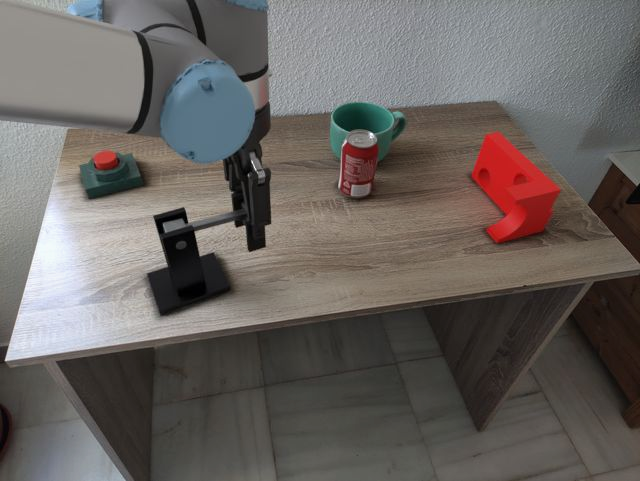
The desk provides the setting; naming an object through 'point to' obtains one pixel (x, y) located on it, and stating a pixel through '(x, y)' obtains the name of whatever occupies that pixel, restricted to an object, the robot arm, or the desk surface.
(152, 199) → the desk surface
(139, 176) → the button box
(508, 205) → the bracket
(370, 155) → the soda can
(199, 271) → the bracket
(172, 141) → the robot arm
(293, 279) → the desk surface
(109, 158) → the button
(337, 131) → the mug
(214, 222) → the lever
